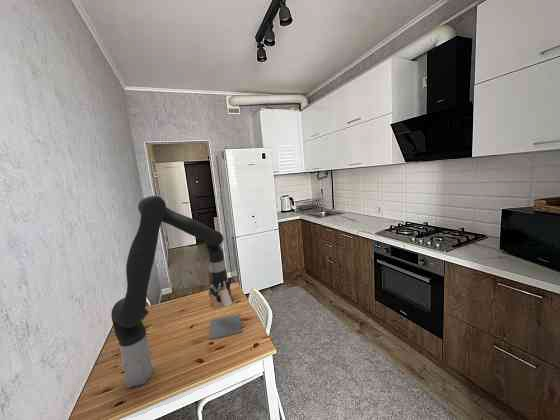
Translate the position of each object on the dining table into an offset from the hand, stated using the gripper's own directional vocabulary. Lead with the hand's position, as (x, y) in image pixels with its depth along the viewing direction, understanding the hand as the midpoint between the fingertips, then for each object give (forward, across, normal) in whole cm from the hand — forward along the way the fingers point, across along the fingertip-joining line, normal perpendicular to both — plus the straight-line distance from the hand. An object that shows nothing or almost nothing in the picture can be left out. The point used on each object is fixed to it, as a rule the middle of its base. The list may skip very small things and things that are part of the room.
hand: (222, 300), depth 118 cm
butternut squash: (+15, +14, +24) cm, 31 cm away
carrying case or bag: (+16, -27, +53) cm, 61 cm away
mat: (+15, 0, 0) cm, 15 cm away
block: (+3, 0, +8) cm, 8 cm away
